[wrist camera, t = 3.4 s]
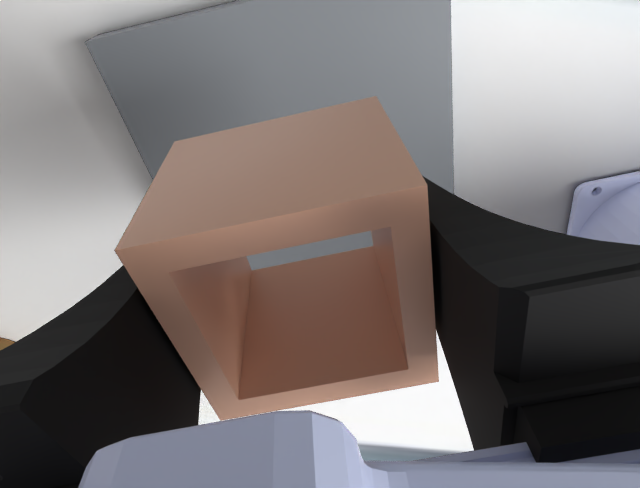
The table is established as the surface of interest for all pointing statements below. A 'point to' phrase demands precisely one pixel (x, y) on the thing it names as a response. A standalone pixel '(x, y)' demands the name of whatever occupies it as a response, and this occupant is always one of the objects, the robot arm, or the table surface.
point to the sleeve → (296, 277)
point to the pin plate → (286, 78)
